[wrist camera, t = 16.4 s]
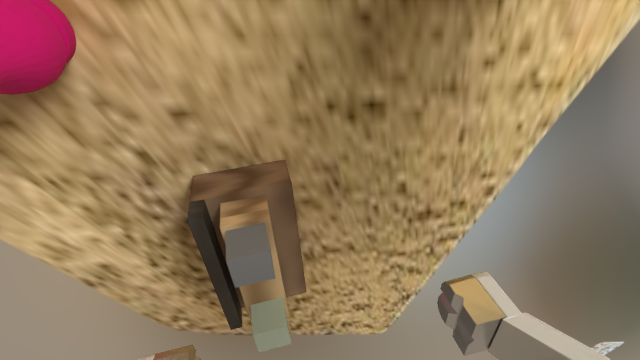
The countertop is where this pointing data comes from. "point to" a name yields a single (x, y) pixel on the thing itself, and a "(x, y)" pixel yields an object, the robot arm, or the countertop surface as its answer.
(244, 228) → the block
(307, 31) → the countertop surface
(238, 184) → the block
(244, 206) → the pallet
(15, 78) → the pepper mill
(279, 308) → the block
